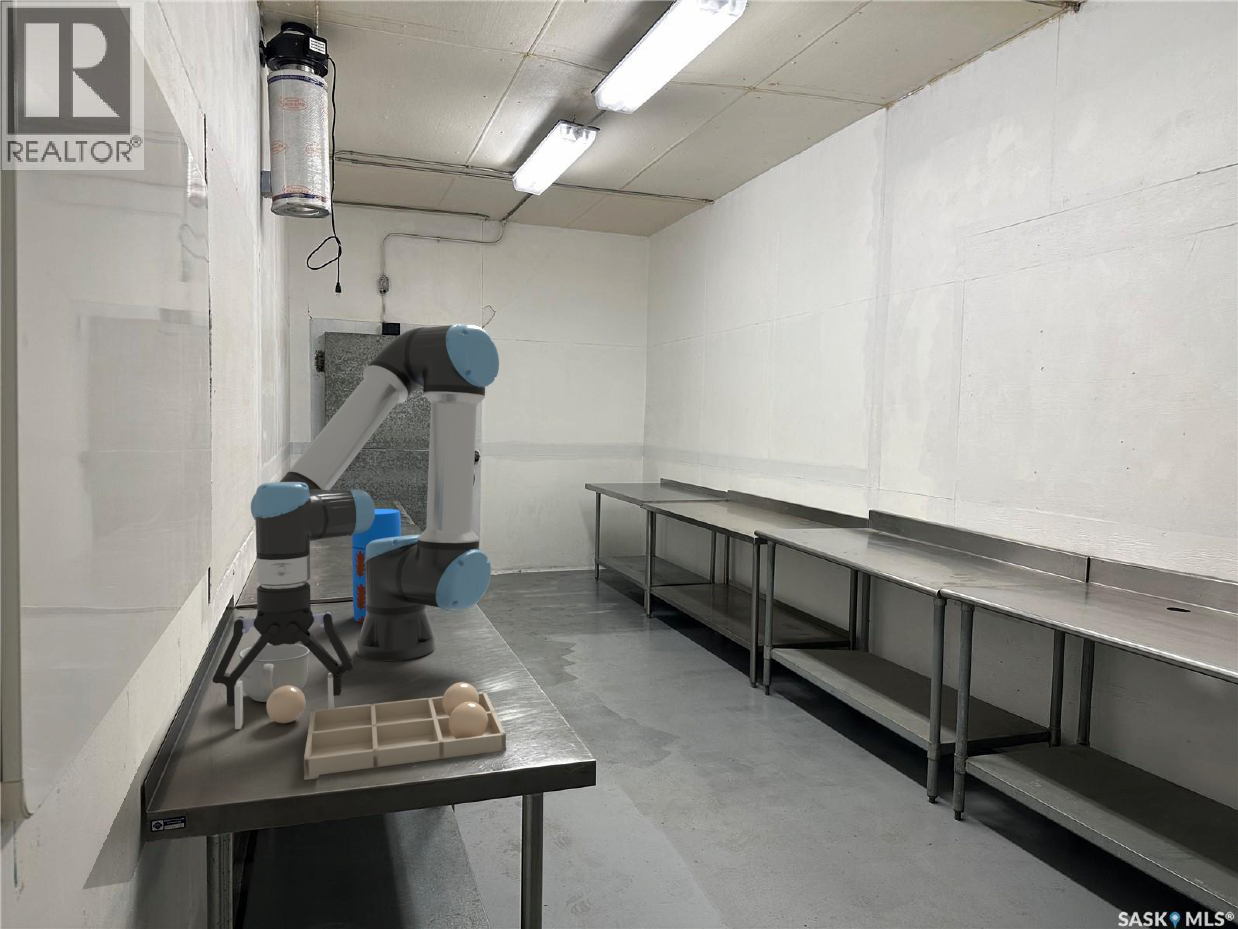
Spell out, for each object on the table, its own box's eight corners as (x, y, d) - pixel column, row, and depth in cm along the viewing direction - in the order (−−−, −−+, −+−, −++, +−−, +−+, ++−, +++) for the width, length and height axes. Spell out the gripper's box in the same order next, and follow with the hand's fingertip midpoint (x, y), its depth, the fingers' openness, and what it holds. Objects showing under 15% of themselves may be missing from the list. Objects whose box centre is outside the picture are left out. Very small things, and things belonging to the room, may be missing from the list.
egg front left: (446, 735, 114) (446, 698, 113) (484, 731, 116) (484, 694, 115) (451, 751, 109) (450, 712, 108) (491, 746, 110) (490, 707, 110)
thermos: (343, 620, 179) (341, 513, 178) (374, 609, 189) (372, 508, 188) (381, 625, 175) (380, 515, 174) (410, 614, 185) (409, 510, 184)
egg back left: (440, 714, 122) (440, 679, 122) (476, 710, 124) (476, 675, 123) (444, 728, 117) (444, 691, 116) (481, 723, 118) (481, 687, 118)
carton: (311, 727, 118) (311, 710, 117) (485, 708, 126) (485, 691, 126) (304, 780, 101) (303, 759, 101) (505, 753, 109) (505, 734, 109)
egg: (268, 717, 122) (267, 682, 121) (307, 713, 123) (306, 678, 123) (264, 731, 116) (263, 694, 116) (304, 726, 118) (304, 690, 118)
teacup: (254, 686, 136) (253, 641, 135) (318, 684, 137) (317, 640, 136) (220, 716, 122) (219, 666, 121) (292, 715, 123) (291, 665, 122)
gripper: (188, 593, 111) (191, 740, 112) (368, 583, 119) (369, 720, 120) (198, 583, 118) (201, 721, 119) (367, 574, 126) (369, 703, 127)
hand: (286, 721), depth 120 cm, fingers open, 12 cm apart
